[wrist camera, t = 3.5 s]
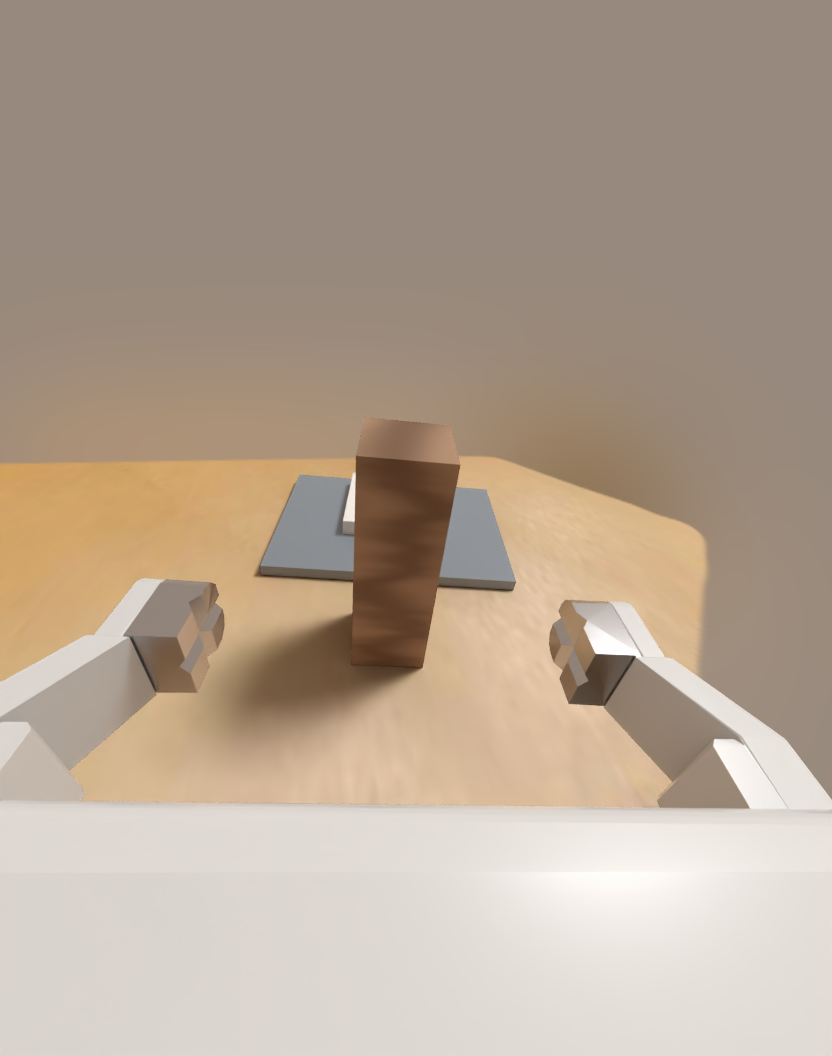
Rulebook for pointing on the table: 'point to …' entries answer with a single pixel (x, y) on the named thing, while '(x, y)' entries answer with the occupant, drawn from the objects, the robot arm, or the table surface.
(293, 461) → the table surface
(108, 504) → the table surface
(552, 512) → the table surface
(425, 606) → the pillar
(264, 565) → the board
